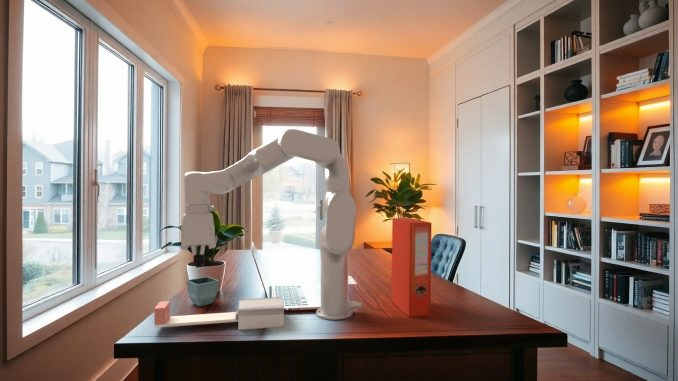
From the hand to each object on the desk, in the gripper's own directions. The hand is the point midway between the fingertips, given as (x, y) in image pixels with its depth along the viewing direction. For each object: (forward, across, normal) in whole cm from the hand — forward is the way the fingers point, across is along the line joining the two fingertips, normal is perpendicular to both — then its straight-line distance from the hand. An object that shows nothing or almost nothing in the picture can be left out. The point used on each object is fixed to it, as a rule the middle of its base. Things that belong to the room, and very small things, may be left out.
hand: (199, 266), depth 127 cm
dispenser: (+19, -19, +3) cm, 27 cm away
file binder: (+20, -72, +2) cm, 75 cm away
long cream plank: (+17, -1, +3) cm, 17 cm away
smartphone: (+20, -60, -43) cm, 76 cm away
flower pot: (+19, +1, -21) cm, 28 cm away
